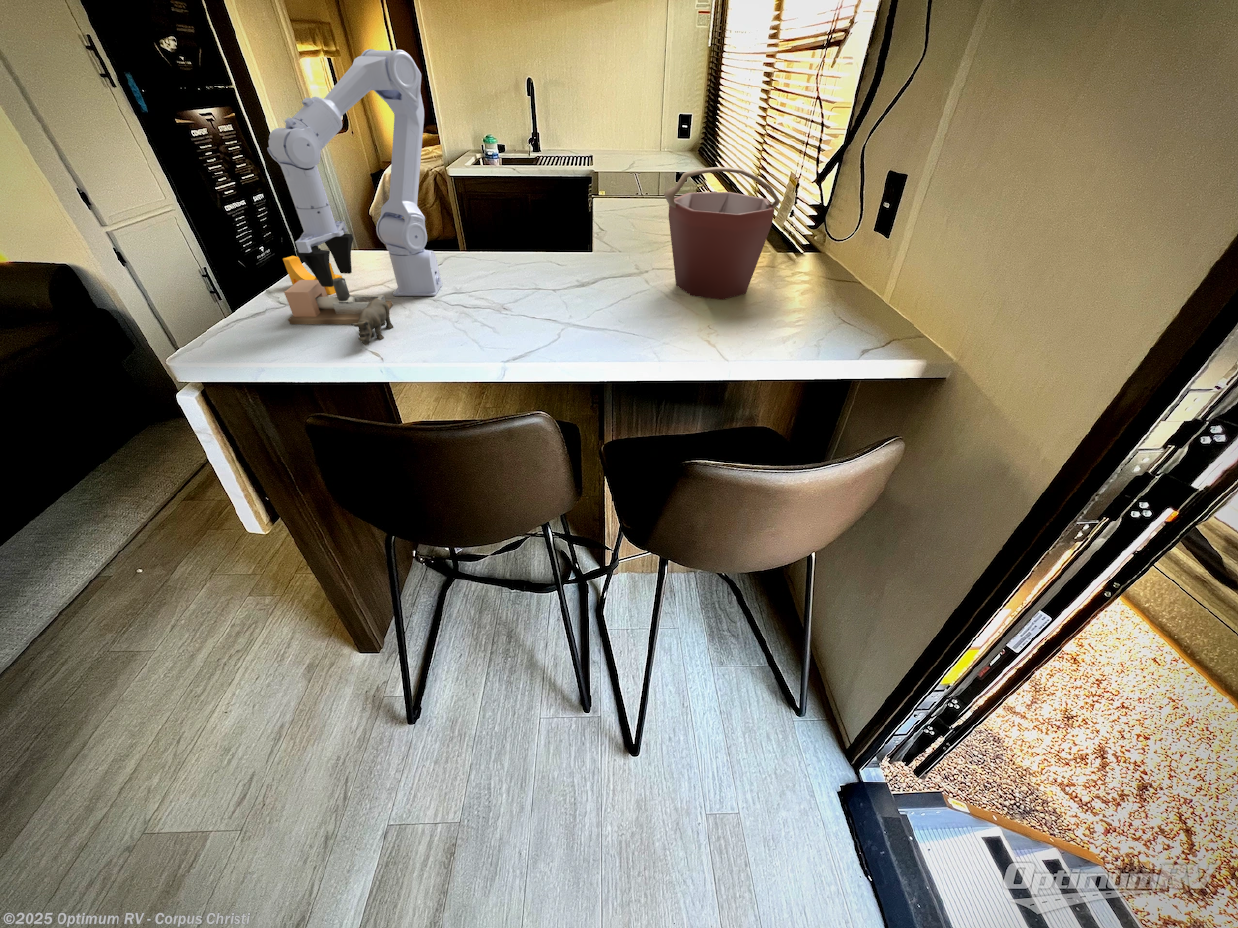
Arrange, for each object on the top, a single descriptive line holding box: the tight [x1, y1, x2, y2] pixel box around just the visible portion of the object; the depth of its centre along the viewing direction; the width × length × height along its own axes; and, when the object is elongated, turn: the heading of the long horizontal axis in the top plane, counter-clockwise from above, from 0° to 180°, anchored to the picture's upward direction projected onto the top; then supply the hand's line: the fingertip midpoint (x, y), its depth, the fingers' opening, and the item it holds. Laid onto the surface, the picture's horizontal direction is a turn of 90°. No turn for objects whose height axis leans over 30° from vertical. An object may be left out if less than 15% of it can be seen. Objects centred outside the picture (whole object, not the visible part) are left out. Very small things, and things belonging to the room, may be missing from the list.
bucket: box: [663, 166, 780, 301], centre depth 116 cm, size 24×22×25 cm
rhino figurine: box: [350, 298, 394, 346], centre depth 97 cm, size 4×14×6 cm, turn 1°
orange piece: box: [282, 255, 343, 296], centre depth 118 cm, size 12×4×6 cm, turn 66°
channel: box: [333, 294, 387, 314], centre depth 106 cm, size 9×5×2 cm, turn 92°
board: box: [287, 300, 394, 325], centre depth 107 cm, size 18×10×1 cm, turn 92°
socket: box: [283, 280, 329, 317], centre depth 105 cm, size 4×7×5 cm, turn 2°
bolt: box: [315, 277, 355, 309], centre depth 105 cm, size 9×2×6 cm, turn 92°
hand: (337, 279), depth 103 cm, fingers open, 7 cm apart
